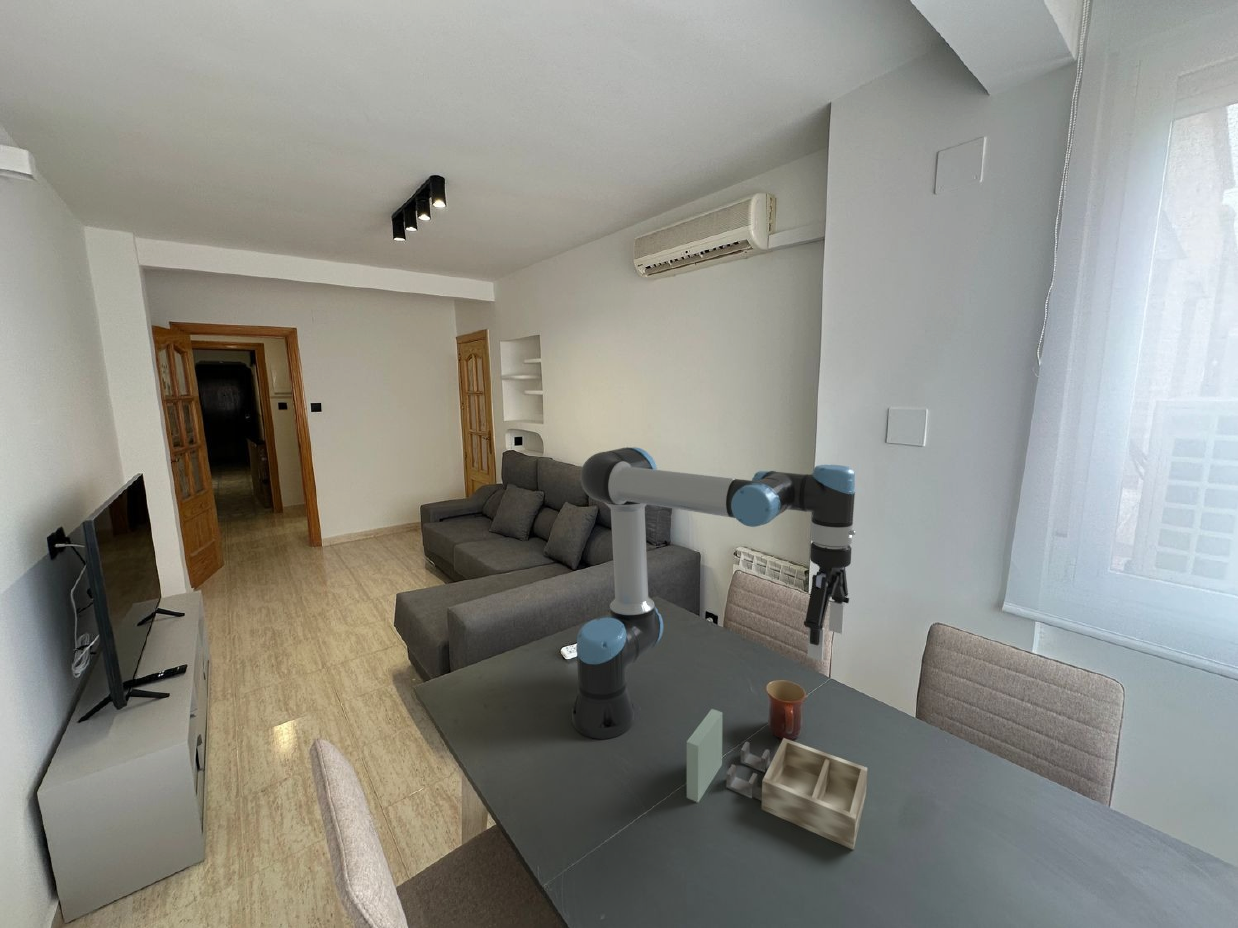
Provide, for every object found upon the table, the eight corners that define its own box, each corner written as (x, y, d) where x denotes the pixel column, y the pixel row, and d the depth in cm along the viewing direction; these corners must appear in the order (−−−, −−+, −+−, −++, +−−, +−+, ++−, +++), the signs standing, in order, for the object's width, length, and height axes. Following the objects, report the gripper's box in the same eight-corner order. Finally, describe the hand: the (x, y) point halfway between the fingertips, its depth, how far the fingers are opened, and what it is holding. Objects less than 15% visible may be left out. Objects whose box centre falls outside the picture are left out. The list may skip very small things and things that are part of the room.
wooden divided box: (723, 792, 100) (723, 764, 99) (747, 750, 112) (748, 725, 111) (853, 849, 87) (855, 818, 86) (865, 795, 99) (867, 767, 98)
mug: (763, 717, 123) (764, 678, 121) (801, 721, 121) (802, 681, 119) (767, 751, 111) (768, 708, 109) (809, 757, 109) (811, 713, 108)
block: (683, 796, 99) (683, 740, 98) (708, 758, 109) (709, 707, 107) (697, 802, 98) (698, 746, 96) (721, 764, 108) (722, 712, 106)
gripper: (831, 564, 88) (826, 677, 91) (866, 532, 107) (861, 626, 111) (789, 556, 93) (785, 664, 96) (830, 526, 112) (825, 617, 115)
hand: (826, 644), depth 103 cm, fingers open, 13 cm apart
